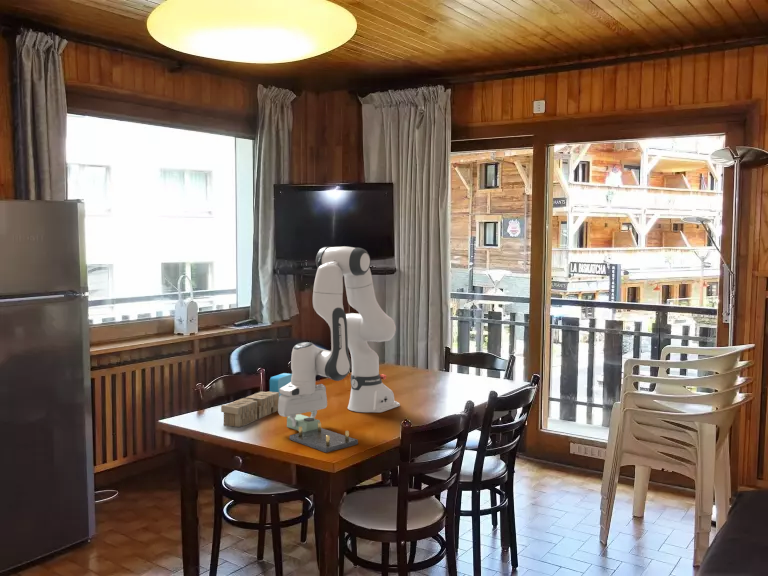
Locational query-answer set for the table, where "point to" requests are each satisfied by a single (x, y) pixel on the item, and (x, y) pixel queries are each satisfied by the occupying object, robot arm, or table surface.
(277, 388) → the data package
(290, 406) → the robot arm
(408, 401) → the table surface
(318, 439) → the plate
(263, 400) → the block tower
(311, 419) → the pale green block
